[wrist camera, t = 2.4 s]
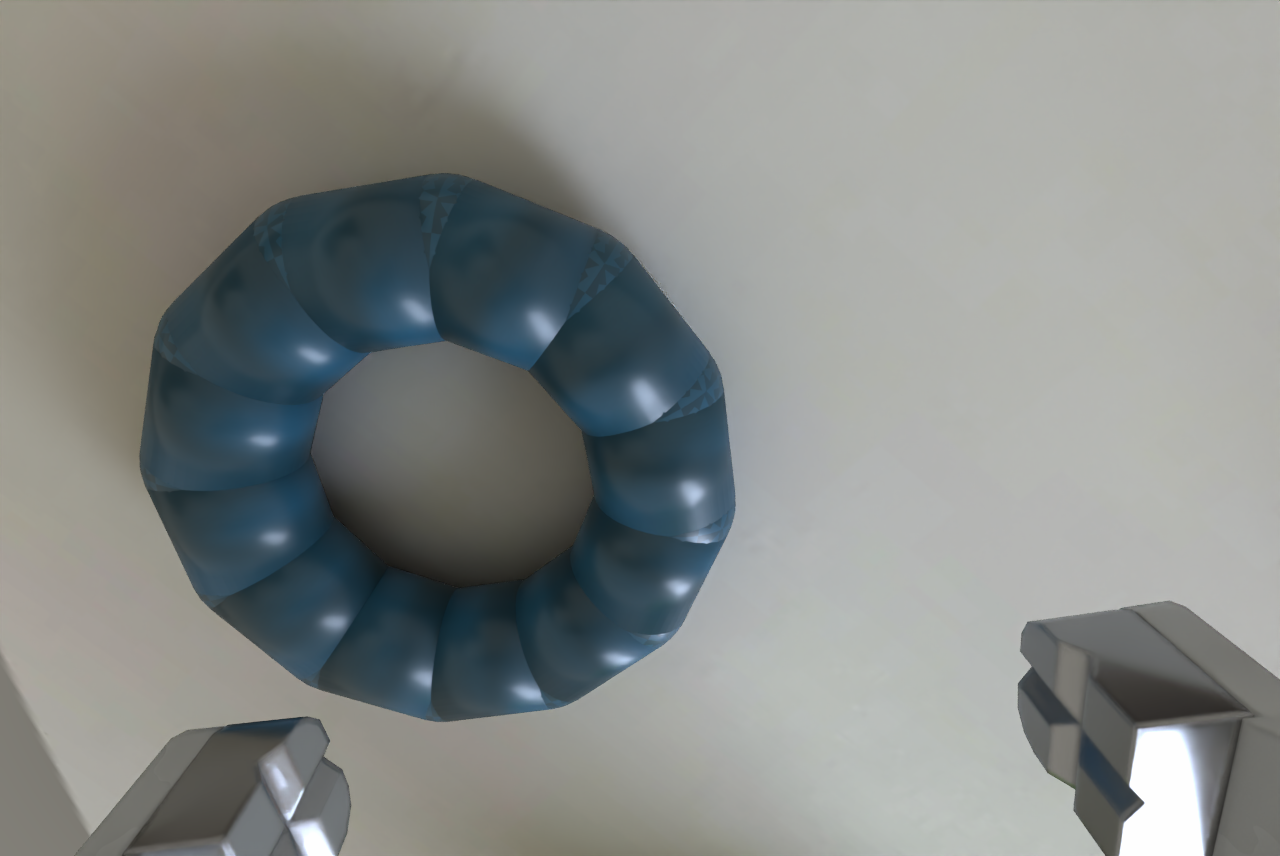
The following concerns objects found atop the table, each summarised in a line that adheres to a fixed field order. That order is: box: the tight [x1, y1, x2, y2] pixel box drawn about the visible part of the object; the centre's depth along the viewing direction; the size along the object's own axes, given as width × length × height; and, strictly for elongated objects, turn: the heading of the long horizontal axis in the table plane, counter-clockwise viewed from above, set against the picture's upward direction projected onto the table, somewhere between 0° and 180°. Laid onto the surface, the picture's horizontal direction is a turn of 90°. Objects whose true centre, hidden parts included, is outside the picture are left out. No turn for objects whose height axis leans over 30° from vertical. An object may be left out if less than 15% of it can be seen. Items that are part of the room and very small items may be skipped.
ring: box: [139, 173, 736, 722], centre depth 14 cm, size 12×12×3 cm
